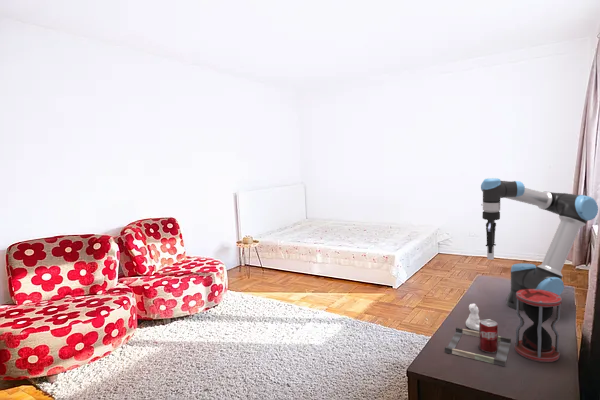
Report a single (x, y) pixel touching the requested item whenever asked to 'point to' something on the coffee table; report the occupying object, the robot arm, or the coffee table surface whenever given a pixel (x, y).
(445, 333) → the coffee table surface
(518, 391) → the coffee table surface
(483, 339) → the soda can
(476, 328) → the white creature statuette
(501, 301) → the coffee table surface
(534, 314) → the hourglass
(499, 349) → the square frame
